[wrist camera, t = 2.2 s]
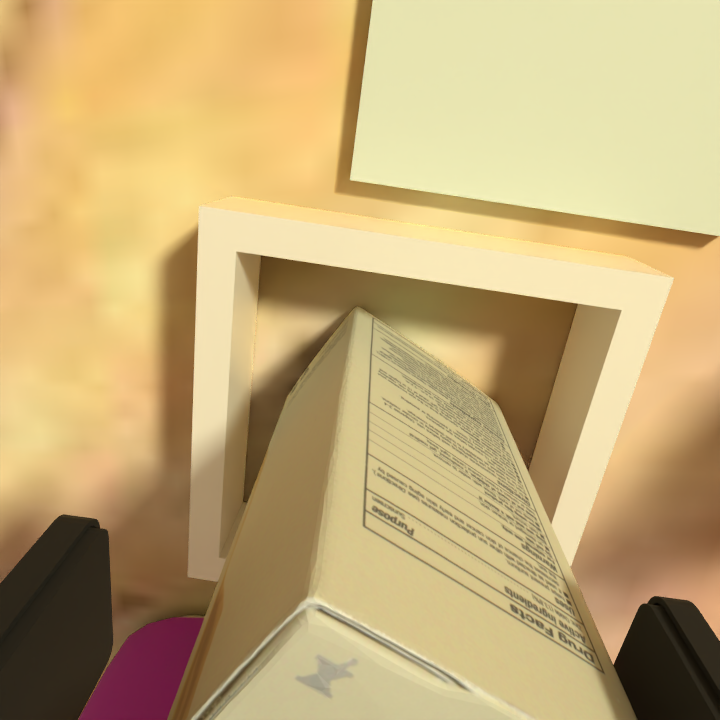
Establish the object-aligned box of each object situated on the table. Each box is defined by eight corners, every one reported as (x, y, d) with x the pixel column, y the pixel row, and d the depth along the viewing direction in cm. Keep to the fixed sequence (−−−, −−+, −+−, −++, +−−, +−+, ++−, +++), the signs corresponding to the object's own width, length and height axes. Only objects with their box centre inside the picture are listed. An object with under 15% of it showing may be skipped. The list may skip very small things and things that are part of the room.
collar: (526, 568, 21) (546, 633, 18) (215, 519, 21) (187, 577, 18) (626, 255, 16) (673, 277, 14) (232, 195, 16) (199, 205, 14)
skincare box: (283, 396, 19) (112, 775, 7) (357, 298, 17) (284, 580, 6) (430, 495, 20) (476, 957, 9) (511, 409, 18) (696, 827, 7)
